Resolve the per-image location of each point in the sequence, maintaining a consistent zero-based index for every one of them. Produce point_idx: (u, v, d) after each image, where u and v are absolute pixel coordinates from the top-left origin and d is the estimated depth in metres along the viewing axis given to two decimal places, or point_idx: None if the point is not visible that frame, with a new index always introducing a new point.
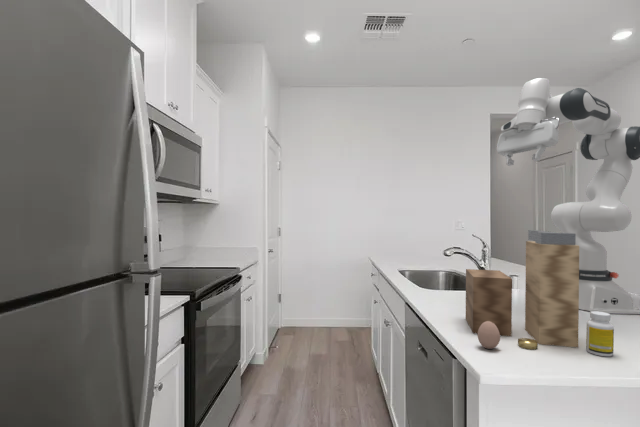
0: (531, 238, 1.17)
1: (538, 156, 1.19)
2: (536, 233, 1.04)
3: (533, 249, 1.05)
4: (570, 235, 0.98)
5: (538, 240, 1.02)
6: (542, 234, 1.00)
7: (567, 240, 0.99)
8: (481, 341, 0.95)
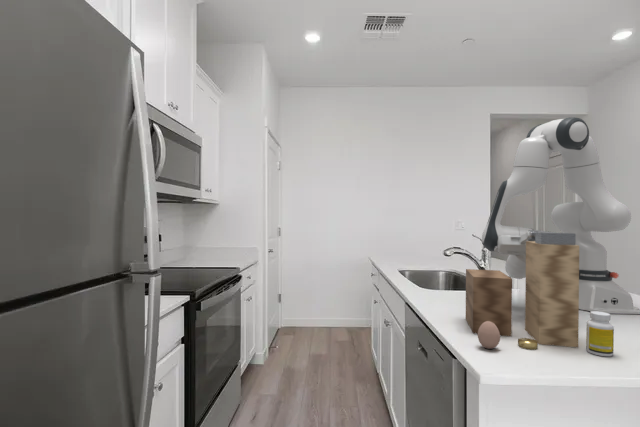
0: None
1: (526, 235, 1.17)
2: (536, 233, 1.04)
3: (533, 249, 1.05)
4: (570, 235, 0.98)
5: (538, 240, 1.02)
6: (542, 234, 1.00)
7: (567, 240, 0.99)
8: (481, 341, 0.95)
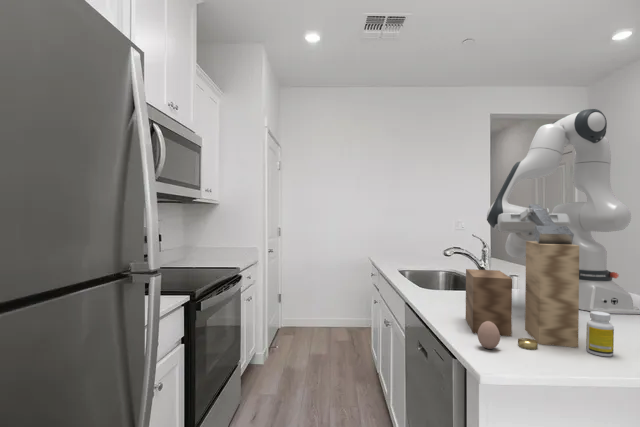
0: None
1: (526, 212, 1.17)
2: (535, 228, 1.05)
3: (533, 249, 1.05)
4: (568, 235, 1.00)
5: (536, 237, 1.04)
6: (541, 234, 1.02)
7: (564, 240, 1.01)
8: (481, 341, 0.95)
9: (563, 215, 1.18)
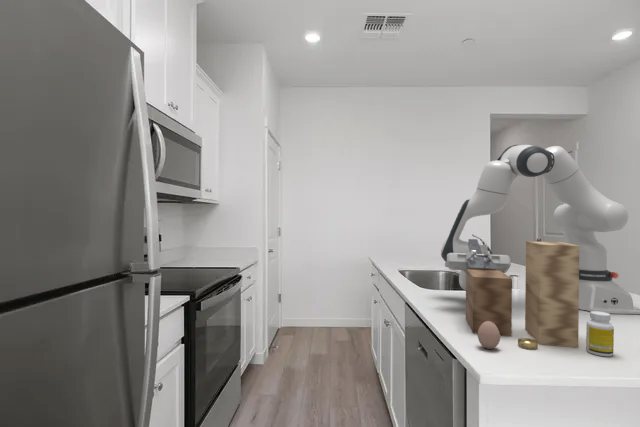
0: (469, 249, 1.39)
1: (471, 253, 1.26)
2: (467, 262, 1.27)
3: (533, 249, 1.05)
4: (491, 269, 1.22)
5: None
6: (470, 268, 1.23)
7: None
8: (481, 341, 0.95)
9: (505, 256, 1.27)
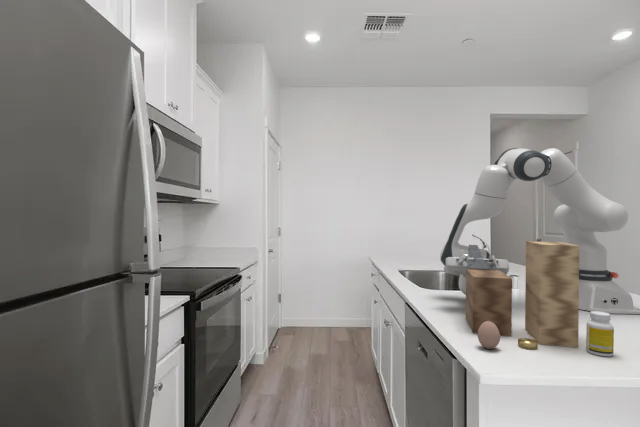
0: (469, 254, 1.39)
1: (463, 257, 1.27)
2: (467, 263, 1.27)
3: (533, 249, 1.05)
4: None
5: None
6: None
7: None
8: (481, 341, 0.95)
9: (503, 261, 1.27)
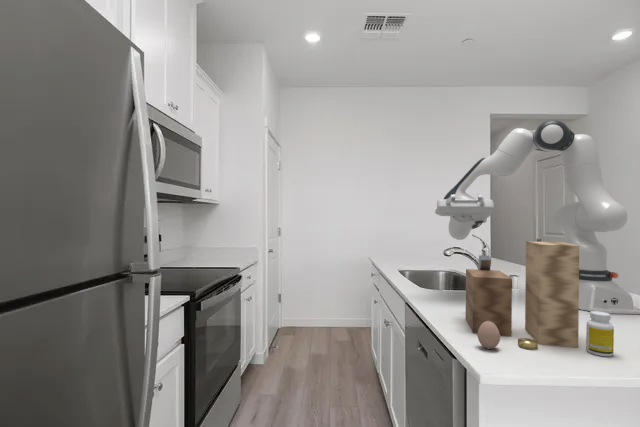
0: (478, 265, 1.24)
1: (450, 197, 1.41)
2: None
3: (533, 249, 1.05)
4: None
5: None
6: None
7: None
8: (481, 341, 0.95)
9: (488, 200, 1.41)
